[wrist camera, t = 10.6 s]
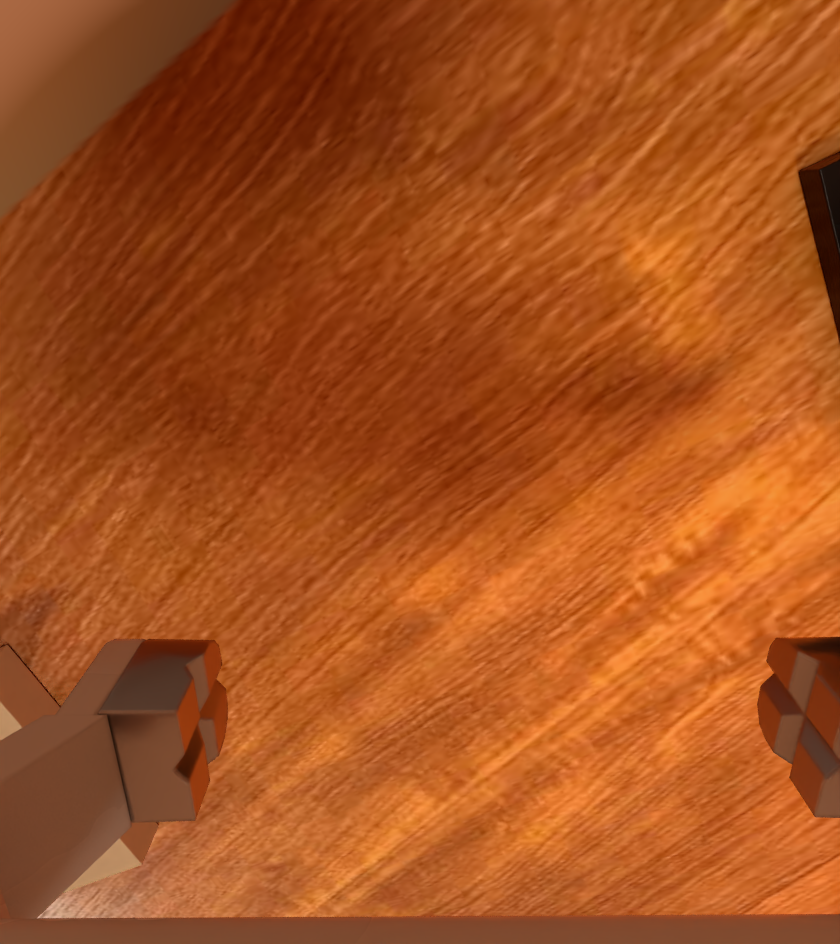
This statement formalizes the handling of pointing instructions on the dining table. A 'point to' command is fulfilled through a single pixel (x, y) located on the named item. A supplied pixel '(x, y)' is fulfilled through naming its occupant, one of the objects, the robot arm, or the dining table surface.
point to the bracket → (826, 220)
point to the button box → (25, 700)
